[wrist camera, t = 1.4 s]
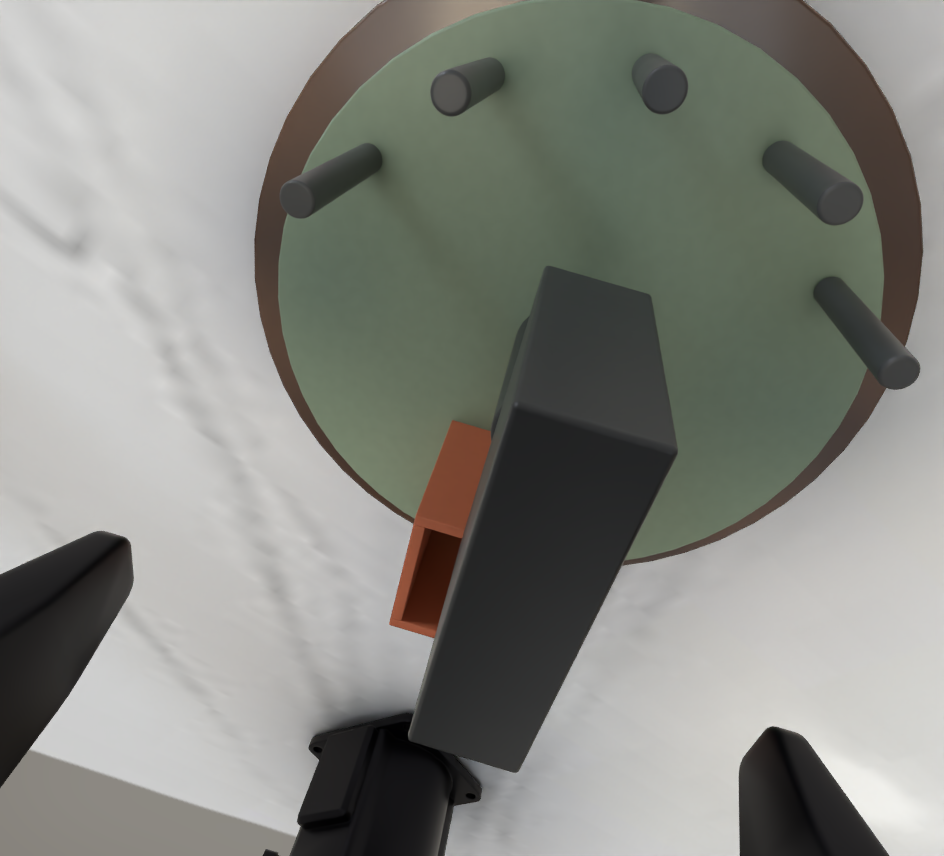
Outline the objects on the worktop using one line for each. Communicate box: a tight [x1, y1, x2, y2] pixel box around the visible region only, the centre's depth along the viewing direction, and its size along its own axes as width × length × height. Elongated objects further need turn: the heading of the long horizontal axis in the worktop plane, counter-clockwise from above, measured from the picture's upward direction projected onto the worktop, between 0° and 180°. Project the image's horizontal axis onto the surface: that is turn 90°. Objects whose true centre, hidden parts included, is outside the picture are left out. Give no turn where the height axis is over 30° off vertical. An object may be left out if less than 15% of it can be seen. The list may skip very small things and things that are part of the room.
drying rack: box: [278, 0, 920, 773], centre depth 14 cm, size 16×16×11 cm
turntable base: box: [254, 0, 923, 566], centre depth 19 cm, size 18×18×1 cm
